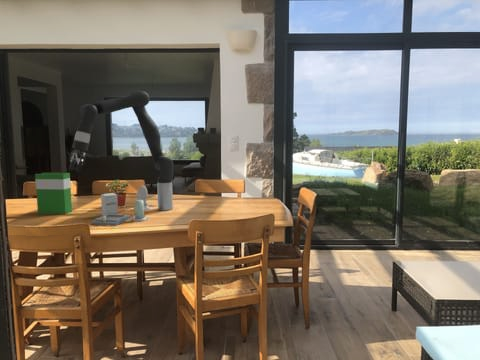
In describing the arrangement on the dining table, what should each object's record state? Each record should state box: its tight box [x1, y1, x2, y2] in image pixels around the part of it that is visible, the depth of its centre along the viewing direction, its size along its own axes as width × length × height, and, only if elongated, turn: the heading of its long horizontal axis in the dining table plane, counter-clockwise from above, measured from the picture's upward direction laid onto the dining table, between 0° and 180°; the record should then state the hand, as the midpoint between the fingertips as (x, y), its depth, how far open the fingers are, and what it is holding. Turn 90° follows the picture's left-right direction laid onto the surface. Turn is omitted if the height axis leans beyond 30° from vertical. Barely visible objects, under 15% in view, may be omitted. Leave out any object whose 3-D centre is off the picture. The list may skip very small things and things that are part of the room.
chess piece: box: [133, 185, 151, 211], centre depth 252 cm, size 10×10×15 cm
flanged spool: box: [131, 199, 148, 223], centre depth 223 cm, size 8×8×11 cm
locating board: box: [91, 213, 132, 227], centre depth 220 cm, size 18×14×4 cm
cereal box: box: [34, 172, 73, 215], centre depth 242 cm, size 18×7×24 cm, turn 84°
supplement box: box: [100, 192, 119, 216], centre depth 235 cm, size 7×7×13 cm
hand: (74, 170), depth 212 cm, fingers open, 8 cm apart
